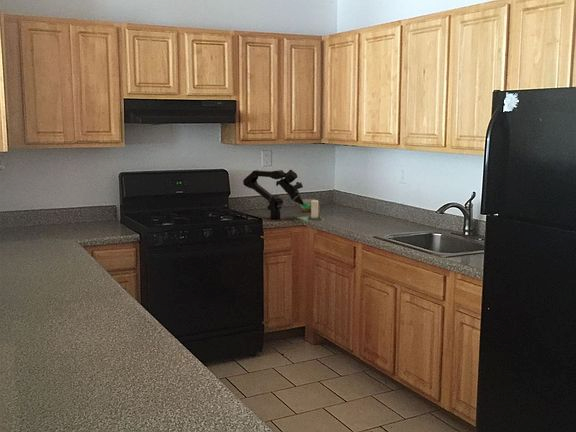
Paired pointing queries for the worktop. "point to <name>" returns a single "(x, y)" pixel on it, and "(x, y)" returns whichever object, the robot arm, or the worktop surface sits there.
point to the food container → (306, 205)
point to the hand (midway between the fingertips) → (303, 203)
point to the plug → (314, 209)
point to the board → (310, 218)
